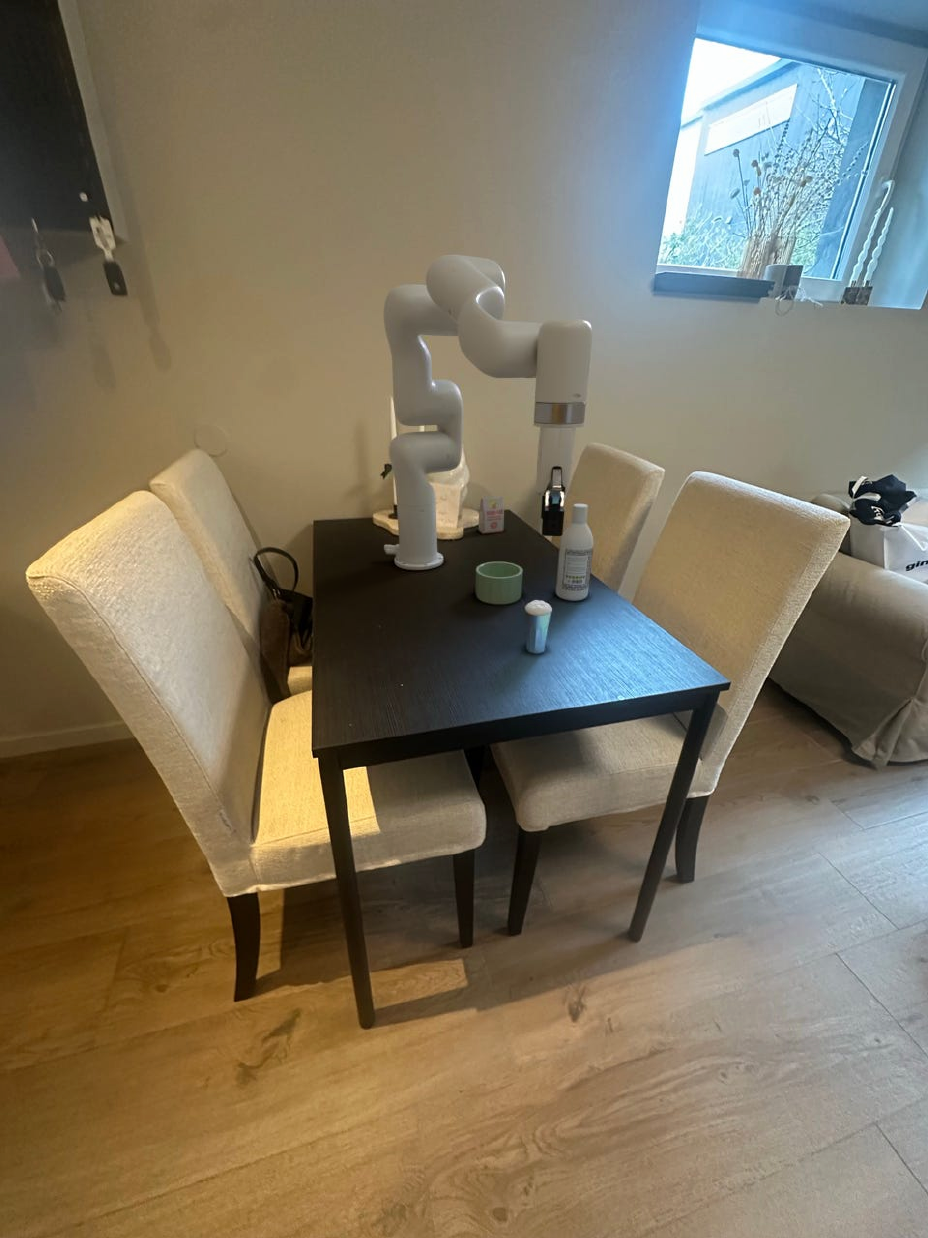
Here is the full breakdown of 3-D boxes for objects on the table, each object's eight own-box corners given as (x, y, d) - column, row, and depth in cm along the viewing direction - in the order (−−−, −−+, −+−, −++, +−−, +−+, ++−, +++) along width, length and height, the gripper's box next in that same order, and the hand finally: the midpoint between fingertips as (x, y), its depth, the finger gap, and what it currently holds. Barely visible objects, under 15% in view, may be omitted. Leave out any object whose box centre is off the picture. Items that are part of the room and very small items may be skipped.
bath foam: (593, 598, 108) (605, 507, 99) (565, 603, 106) (574, 510, 97) (576, 587, 114) (586, 499, 105) (549, 591, 112) (557, 502, 103)
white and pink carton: (478, 530, 154) (479, 497, 149) (498, 528, 156) (499, 496, 151) (482, 533, 151) (483, 500, 146) (503, 531, 153) (504, 498, 148)
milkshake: (516, 643, 91) (518, 593, 86) (545, 642, 91) (549, 592, 86) (520, 656, 87) (523, 604, 82) (551, 655, 87) (555, 603, 82)
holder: (473, 603, 106) (473, 576, 104) (478, 584, 115) (478, 560, 112) (520, 605, 105) (521, 579, 102) (521, 587, 114) (523, 562, 111)
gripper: (534, 411, 83) (528, 513, 90) (533, 420, 67) (527, 542, 75) (580, 411, 82) (570, 514, 89) (590, 420, 67) (578, 543, 74)
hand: (551, 526), depth 82 cm, fingers open, 9 cm apart
